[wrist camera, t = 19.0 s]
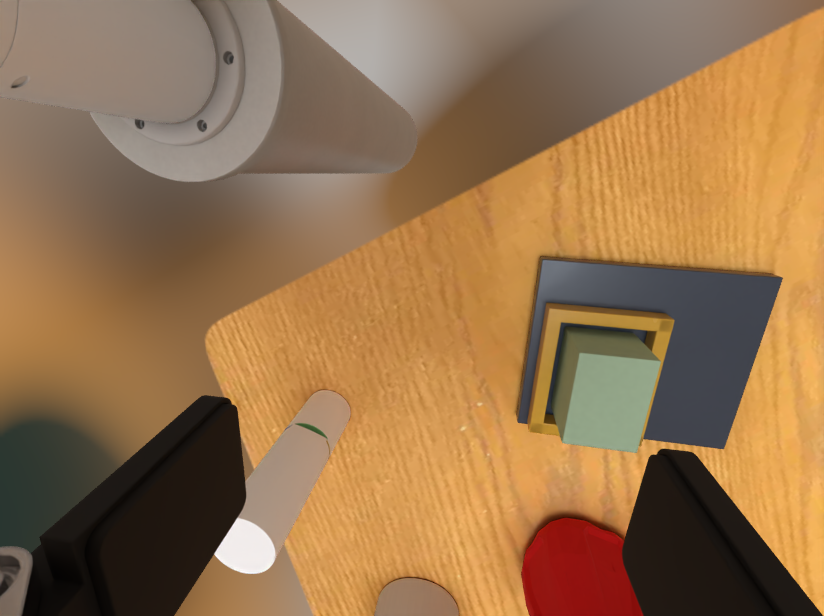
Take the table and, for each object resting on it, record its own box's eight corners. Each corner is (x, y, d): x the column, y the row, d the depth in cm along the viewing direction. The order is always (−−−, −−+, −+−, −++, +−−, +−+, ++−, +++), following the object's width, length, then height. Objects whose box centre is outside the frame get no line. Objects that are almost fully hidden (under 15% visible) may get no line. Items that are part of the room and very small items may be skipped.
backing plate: (516, 415, 36) (519, 433, 33) (540, 256, 31) (545, 263, 29) (715, 440, 34) (735, 462, 31) (771, 273, 29) (799, 283, 27)
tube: (358, 423, 39) (287, 567, 24) (318, 434, 40) (229, 578, 26) (338, 384, 38) (253, 511, 23) (299, 397, 39) (195, 525, 25)
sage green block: (614, 413, 33) (637, 453, 28) (550, 405, 34) (561, 443, 29) (633, 332, 31) (661, 361, 26) (564, 325, 31) (579, 352, 27)
